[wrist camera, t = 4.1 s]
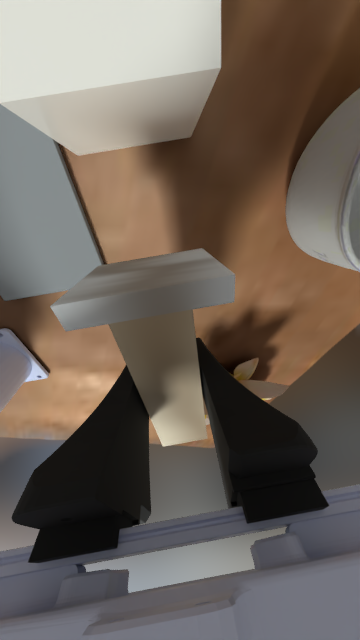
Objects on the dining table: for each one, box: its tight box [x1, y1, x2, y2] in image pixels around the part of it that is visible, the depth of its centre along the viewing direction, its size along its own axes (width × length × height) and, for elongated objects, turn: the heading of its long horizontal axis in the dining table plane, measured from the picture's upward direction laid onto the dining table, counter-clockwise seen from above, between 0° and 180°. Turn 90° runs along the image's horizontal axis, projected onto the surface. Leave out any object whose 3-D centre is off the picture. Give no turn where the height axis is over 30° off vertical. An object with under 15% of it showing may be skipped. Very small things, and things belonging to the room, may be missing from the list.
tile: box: [0, 0, 221, 156], centre depth 8 cm, size 8×2×7 cm, turn 98°
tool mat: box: [0, 104, 104, 301], centre depth 12 cm, size 10×15×1 cm, turn 8°
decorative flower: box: [202, 358, 289, 425], centre depth 23 cm, size 15×11×10 cm
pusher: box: [50, 248, 235, 447], centre depth 10 cm, size 6×11×5 cm, turn 8°
